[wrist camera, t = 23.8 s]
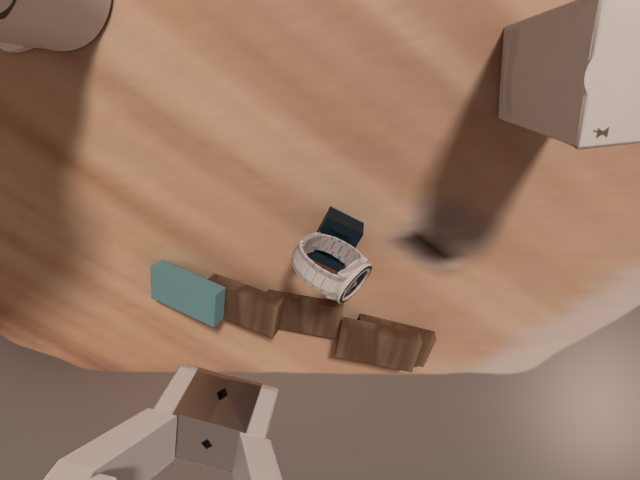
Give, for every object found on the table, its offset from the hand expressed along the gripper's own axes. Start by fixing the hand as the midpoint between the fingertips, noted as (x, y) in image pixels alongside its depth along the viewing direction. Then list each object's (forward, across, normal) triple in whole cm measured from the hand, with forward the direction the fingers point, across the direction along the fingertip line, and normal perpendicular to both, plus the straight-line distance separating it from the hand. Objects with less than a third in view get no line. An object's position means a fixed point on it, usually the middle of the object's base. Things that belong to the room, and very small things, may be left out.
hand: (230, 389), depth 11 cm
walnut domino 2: (+31, +4, +22) cm, 38 cm away
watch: (+31, -3, +9) cm, 33 cm away
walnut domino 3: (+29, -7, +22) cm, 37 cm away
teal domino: (+30, +18, +21) cm, 41 cm away
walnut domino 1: (+30, +11, +21) cm, 39 cm away
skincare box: (+31, -16, -12) cm, 38 cm away
